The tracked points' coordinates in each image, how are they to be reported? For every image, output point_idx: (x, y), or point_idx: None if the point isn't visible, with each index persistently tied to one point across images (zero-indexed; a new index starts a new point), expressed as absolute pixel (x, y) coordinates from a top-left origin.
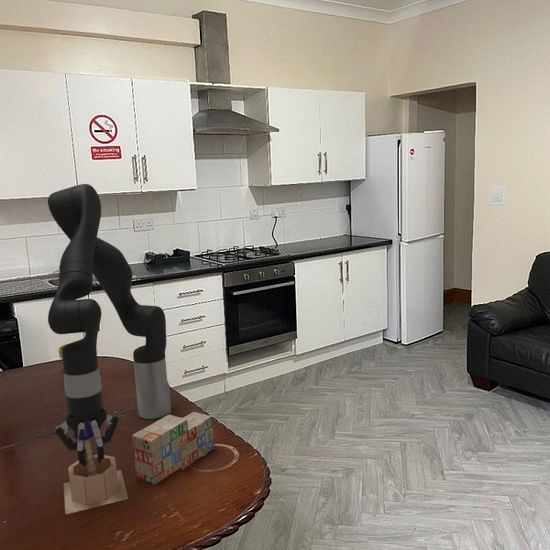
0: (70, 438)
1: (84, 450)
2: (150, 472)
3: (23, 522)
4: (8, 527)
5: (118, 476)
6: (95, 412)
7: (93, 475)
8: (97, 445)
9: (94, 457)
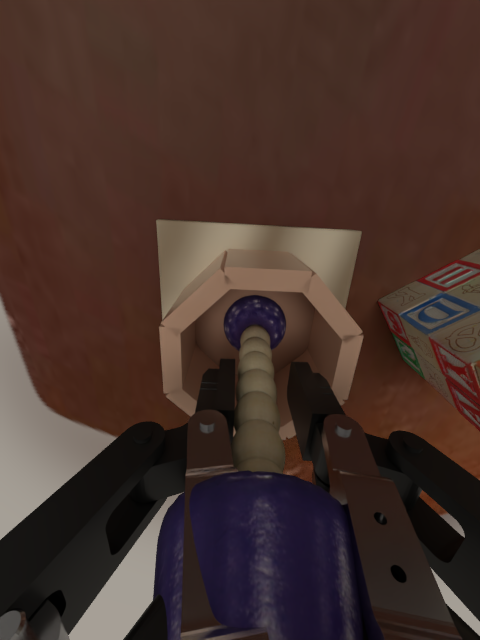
0: (131, 485)
1: (234, 427)
2: (431, 379)
3: (63, 347)
4: (29, 351)
5: (339, 273)
6: None
7: None
8: (312, 461)
9: (283, 290)
